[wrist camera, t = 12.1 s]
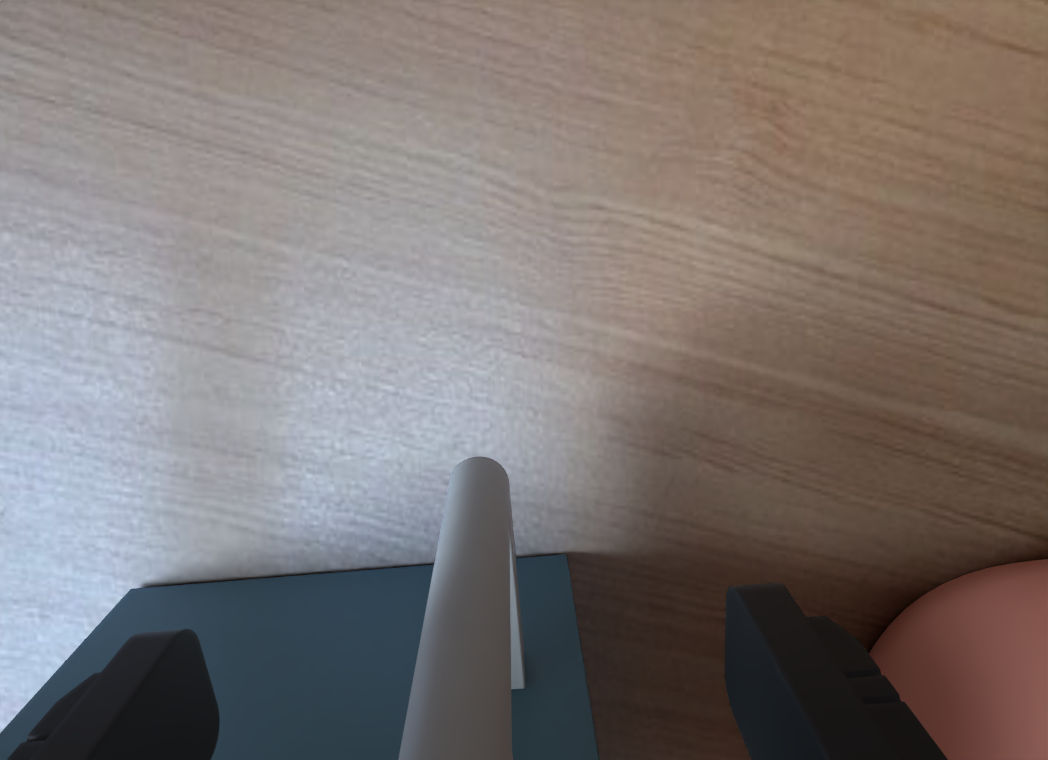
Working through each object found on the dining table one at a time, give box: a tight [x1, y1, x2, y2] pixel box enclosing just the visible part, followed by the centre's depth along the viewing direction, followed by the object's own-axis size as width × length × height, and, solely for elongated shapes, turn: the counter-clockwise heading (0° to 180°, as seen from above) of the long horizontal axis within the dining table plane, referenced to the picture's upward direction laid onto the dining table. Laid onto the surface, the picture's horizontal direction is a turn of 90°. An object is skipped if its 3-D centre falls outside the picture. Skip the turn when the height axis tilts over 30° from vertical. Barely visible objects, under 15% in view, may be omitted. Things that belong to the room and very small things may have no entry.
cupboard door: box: [0, 457, 600, 760], centre depth 14 cm, size 7×16×18 cm, turn 94°
